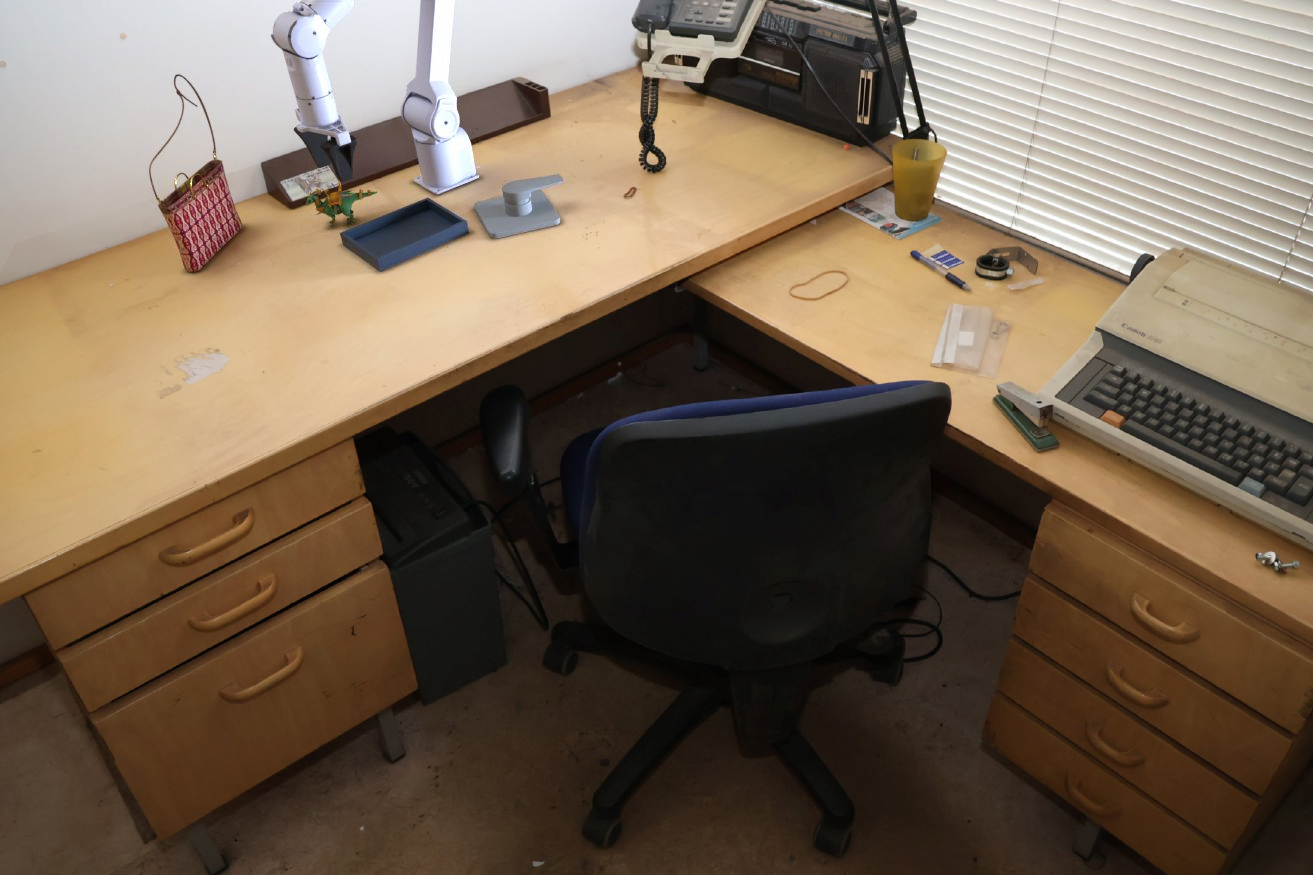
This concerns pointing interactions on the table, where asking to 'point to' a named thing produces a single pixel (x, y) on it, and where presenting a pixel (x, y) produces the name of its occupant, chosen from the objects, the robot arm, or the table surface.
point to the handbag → (200, 208)
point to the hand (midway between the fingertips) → (335, 172)
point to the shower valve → (519, 208)
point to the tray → (404, 233)
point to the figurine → (337, 203)
